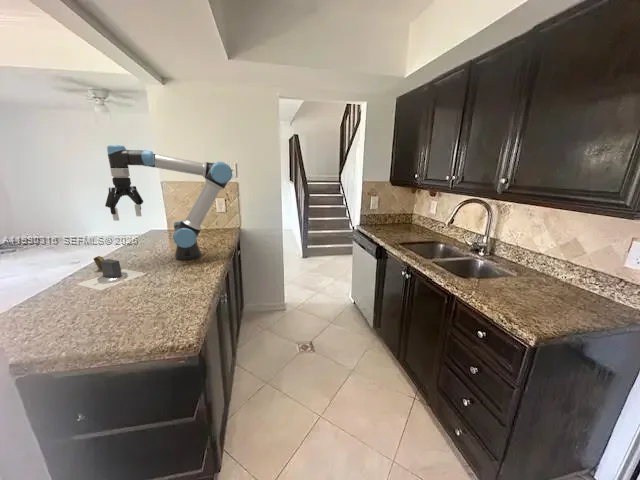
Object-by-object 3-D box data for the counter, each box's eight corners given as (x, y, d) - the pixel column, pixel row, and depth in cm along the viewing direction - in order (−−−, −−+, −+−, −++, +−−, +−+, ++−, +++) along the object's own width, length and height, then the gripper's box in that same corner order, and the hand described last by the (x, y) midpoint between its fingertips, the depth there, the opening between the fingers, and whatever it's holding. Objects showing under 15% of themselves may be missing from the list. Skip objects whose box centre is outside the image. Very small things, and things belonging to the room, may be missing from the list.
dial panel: (124, 271, 147) (123, 268, 146) (147, 276, 140) (146, 273, 140) (76, 287, 127) (75, 283, 127) (100, 293, 121) (100, 290, 120)
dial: (91, 281, 130) (87, 263, 128) (117, 272, 141) (114, 256, 139) (108, 284, 126) (104, 266, 124) (133, 275, 137) (130, 258, 134)
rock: (95, 265, 149) (84, 269, 140) (105, 252, 150) (94, 255, 140) (114, 275, 152) (105, 280, 142) (124, 263, 152) (115, 266, 143)
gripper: (103, 177, 125) (112, 222, 131) (147, 176, 149) (152, 214, 154) (90, 177, 127) (99, 222, 132) (135, 176, 151) (141, 214, 156)
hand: (128, 218), depth 143 cm, fingers open, 13 cm apart
